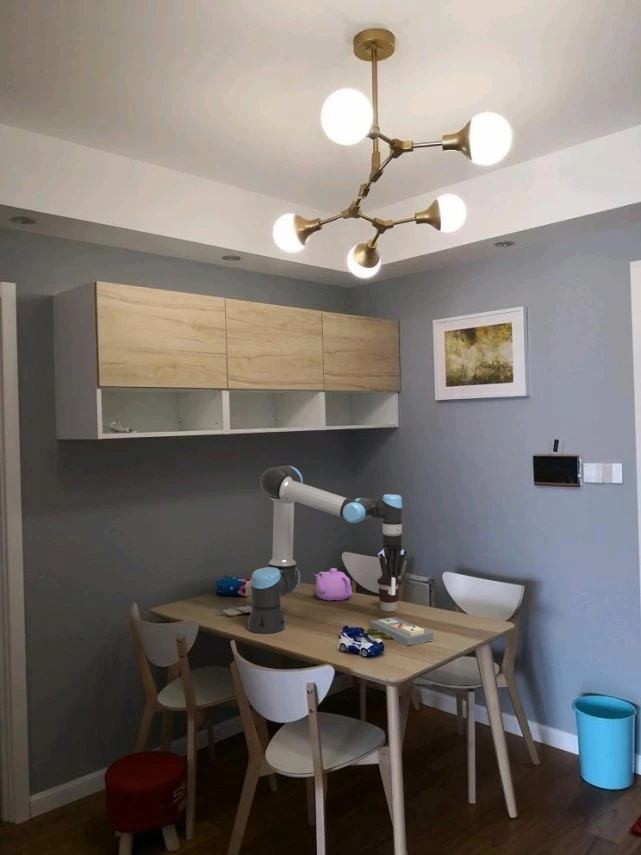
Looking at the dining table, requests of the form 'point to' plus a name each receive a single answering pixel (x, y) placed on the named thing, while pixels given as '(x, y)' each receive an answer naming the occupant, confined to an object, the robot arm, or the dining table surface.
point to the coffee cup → (387, 595)
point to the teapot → (333, 585)
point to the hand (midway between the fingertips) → (391, 594)
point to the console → (400, 632)
